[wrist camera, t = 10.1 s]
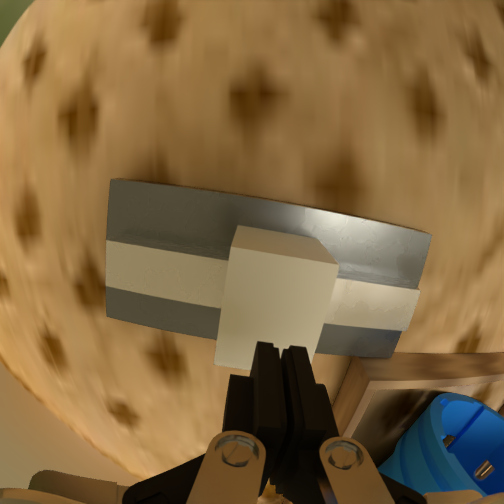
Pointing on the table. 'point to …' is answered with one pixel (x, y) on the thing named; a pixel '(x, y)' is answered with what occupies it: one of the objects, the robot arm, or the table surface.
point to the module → (273, 294)
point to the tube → (450, 448)
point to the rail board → (263, 215)
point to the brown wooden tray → (409, 380)
